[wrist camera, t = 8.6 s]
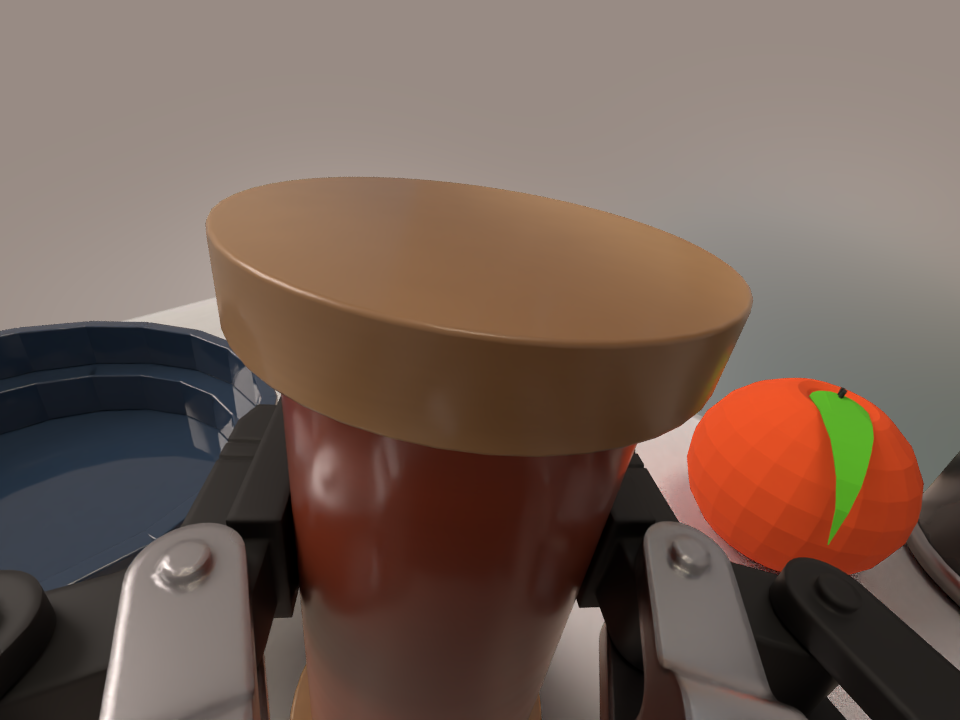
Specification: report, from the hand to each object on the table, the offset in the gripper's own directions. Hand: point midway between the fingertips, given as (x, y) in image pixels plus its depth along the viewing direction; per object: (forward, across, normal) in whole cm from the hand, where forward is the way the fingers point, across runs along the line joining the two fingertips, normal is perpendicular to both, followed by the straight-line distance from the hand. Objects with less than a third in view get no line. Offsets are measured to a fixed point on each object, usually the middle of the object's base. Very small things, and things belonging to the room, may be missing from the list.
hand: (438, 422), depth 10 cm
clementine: (+2, -13, +8) cm, 15 cm away
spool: (-3, 0, +7) cm, 7 cm away
